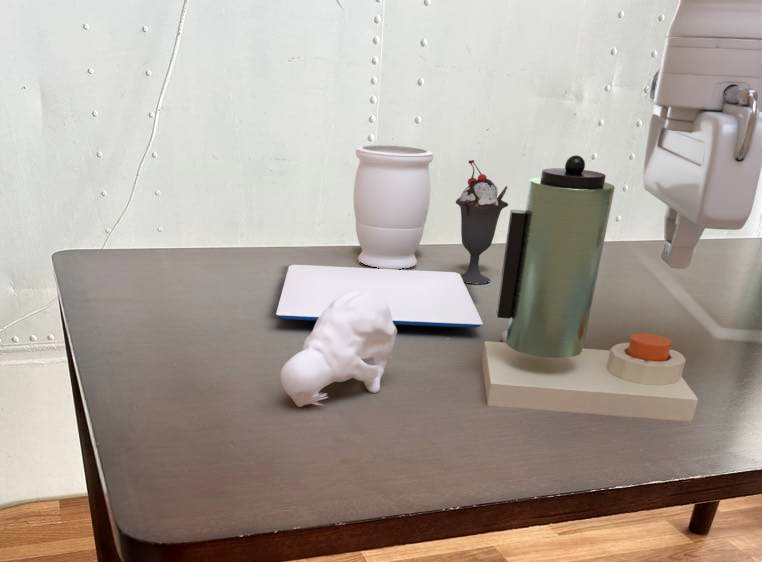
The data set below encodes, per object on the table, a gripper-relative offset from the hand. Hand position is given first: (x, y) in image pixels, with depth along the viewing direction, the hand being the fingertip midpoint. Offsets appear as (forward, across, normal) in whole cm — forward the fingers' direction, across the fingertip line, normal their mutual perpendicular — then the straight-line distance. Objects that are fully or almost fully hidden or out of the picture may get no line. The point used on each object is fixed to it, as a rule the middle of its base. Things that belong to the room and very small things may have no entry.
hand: (674, 264), depth 71 cm
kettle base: (+12, 0, +6) cm, 13 cm away
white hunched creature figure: (+12, -6, +29) cm, 32 cm away
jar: (+12, +46, +27) cm, 55 cm away
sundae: (+12, +40, +15) cm, 44 cm away
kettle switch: (+8, 0, +1) cm, 8 cm away
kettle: (+8, +1, +11) cm, 13 cm away
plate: (+12, +23, +27) cm, 37 cm away
